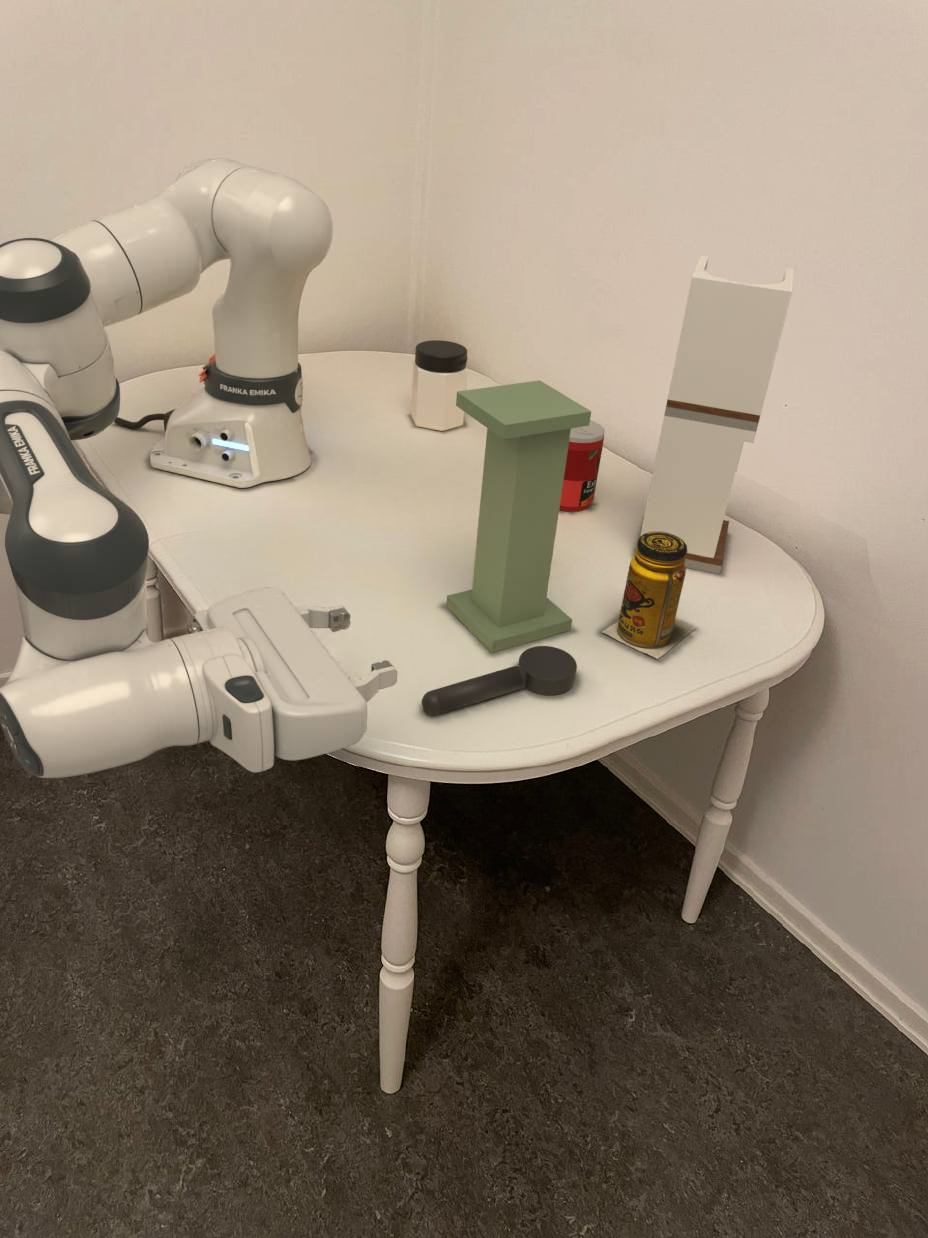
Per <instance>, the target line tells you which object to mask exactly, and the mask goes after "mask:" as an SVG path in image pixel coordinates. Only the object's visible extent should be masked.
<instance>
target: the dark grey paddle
mask: <svg viewBox="0 0 928 1238" xmlns="http://www.w3.org/2000/svg"><path fill="white" fill-rule="evenodd" d="M577 668H578V665H577V661H576V659H575V657H573V656H572V655H571V654H570V653H569V652H567V651H566V650H564V649H561V648H558V647H555V646H551V645H537V646H532V647H528V648H527V649H525V650H524V651H522V653H521V654H520V656H519V659H518V664H517V665H514V666H510V667H506V668H503V669H499V670H497V671H493V672H489V673H486V674H483V675H480V676H476V677H473V678H470V679H466V680H462V681H459V682H456V683H452V684H449V685H445V686H441V687H438V688H435V689H432V690H429V691H427V692H425V693H424V695H423V696H422V699H421V708H422V710H423V711H424V712H425V713H426V714H428V715H432V716H436V715H441V714H444V713H446V712H450V711H453V710H456V709H459V708H463V707H466V706H470V705H473V704H476V703H479V702H482V701H486V700H489V699H492V698H495V697H499V696H502V695H506V694H508V693H513V692H515V691H518V690H519V691H520V690H521V689H523V688H525V689H526V690H527V691H529V692H532V693H534V694H538V695H542V696H559V695H563V694H565V693H568V692H569V691H570V690H571V689H572V688H573V686H574V684H575V679H576V674H577Z"/></svg>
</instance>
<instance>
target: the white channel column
mask: <svg viewBox="0 0 928 1238" xmlns="http://www.w3.org/2000/svg"><path fill="white" fill-rule="evenodd" d="M709 259H710V256H708V255H700V258H699V260H698V262H697V265H696V266H695V269H694V271H693V274H692V276H691V280H690V284H689V289H688V295H687V300H686V305H685V310H684V315H683V319H682V324H681V330H680V334H679V339H678V346H677V350H676V355H675V358H674V359H675V360H674V364H673V365H674V366H673V369H672V375H671V379H670V385H669V390H668V394H667V399H666V404H665V405H666V406H665V410H664V415H663V420H662V426H661V430H660V434H659V440H658V445H657V450H656V455H655V461H654V465H653V470H652V475H651V480H650V485H649V490H648V494H647V495H648V496H647V500H646V505H645V509H644V515H643V520H642V524H641V530H640V535H639V537H640V536H642V535H643V534H645V533H648V532H655V531H656V532H666V533H669V534H673V535H676V536H677V537H679V538H681V539H682V540H683V541H684V542H685V544H686V545H687V553H686V555H685V559H686V561H685V563H684V565H685V567H686V568H687V569H693V570H698V571H701V572H702V571H703V572H707V573H711V574H717V575H720V573H721V571H722V570H721V569H722V566H723V563H724V557H725V550H726V543H727V537H728V531H729V524H730V520H726V519H725V515H726V511H727V507H728V503H729V500H730V495H731V491H732V487H733V483H734V479H735V476H736V472H737V471H738V467H739V463H740V459H741V455H742V451H743V447H744V443H749V444H750V443H751V444H754V441H755V438H756V434H757V430H758V427H759V423H760V418H761V415H762V412H763V406H764V403H765V399H766V396H767V391H768V388H769V383H770V379H771V376H772V372H773V368H774V364H775V362H776V361H775V360H776V356H777V353H778V349H779V346H780V341H781V337H782V335H783V334H782V333H783V329H784V325H785V322H786V318H787V315H788V311H789V307H790V302H791V299H792V296H793V288H794V287H793V286H794V271H795V270H794V268H790V267H785V268H784V269H785V270H784V273H783V276H782V277H783V278H782V280H781V282H778V283H769V284H760V283H748V282H740V281H734V280H730V279H727V278H722V277H720V276H716V275H713V274H711V273H709V272H708V271H707V268H708V263H709Z"/></svg>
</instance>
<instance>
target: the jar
mask: <svg viewBox="0 0 928 1238" xmlns="http://www.w3.org/2000/svg"><path fill="white" fill-rule="evenodd" d="M414 354H415V355H414V360H413V363H412V364H413V367H412V383H411V384H412V388H411V404H410V405H411V407H410V408H411V409H410V416H411V419H412V420H413V422H414V425H415V427H418V428H424V429H428V430H434V431H438V432H445V431H448V430H451V429H456V428H459V427H463V426H464V421H465V412H464V411H463V410H461V409H460V408H459V407H457V406H456V398H457V391H465V390H467V385H468V383H467V382H468V373H469V371H468V368H467V363H468V349H467V348H466V346H464V345H462V344H460V343H458V342H453V341H448V340H439V339H437V340H435V339H433V340H425V341H422V342H419V343H417V344H416V345H415V353H414Z"/></svg>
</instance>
